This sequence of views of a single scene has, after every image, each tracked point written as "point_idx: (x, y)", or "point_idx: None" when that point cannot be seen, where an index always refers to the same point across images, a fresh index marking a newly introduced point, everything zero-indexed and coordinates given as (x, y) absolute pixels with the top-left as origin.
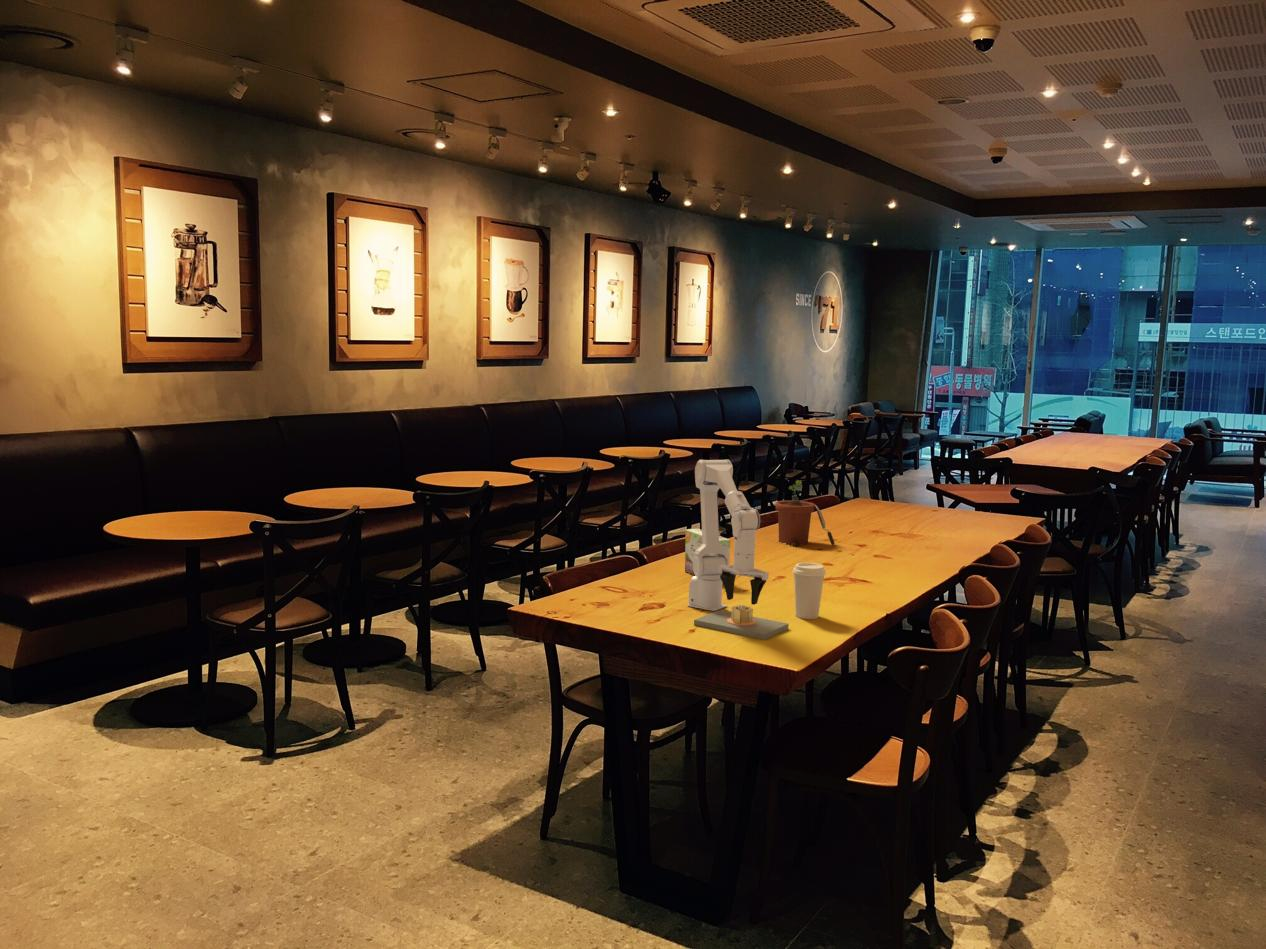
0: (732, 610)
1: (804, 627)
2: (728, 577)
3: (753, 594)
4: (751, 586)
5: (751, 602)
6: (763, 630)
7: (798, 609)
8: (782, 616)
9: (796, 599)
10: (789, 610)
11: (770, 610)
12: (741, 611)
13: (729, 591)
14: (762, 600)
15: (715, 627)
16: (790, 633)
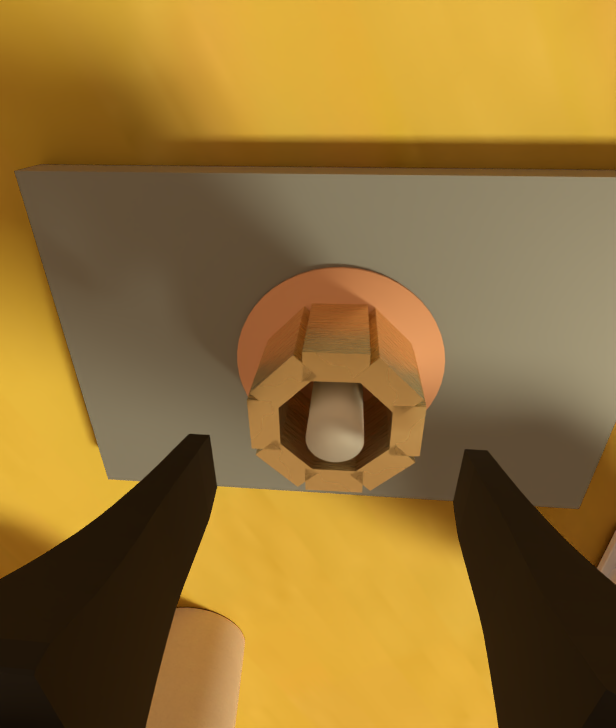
0: (396, 365)
1: (92, 514)
2: (576, 717)
3: (137, 499)
4: (102, 576)
5: (201, 442)
6: (95, 264)
7: (200, 647)
8: (272, 597)
9: (203, 702)
10: (298, 664)
11: (363, 639)
12: (294, 353)
13: (489, 523)
14: (458, 716)
15: (473, 171)
16: (56, 397)
